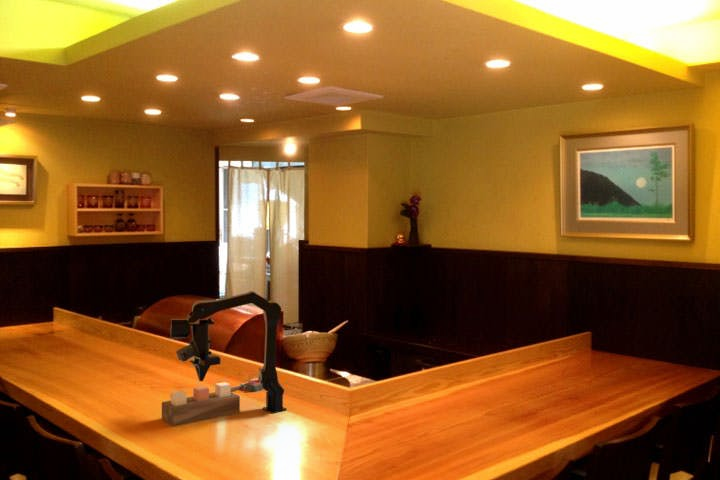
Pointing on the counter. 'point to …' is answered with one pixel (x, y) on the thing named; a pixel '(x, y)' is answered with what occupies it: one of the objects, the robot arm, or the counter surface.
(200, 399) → the plug terracotta
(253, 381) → the walkie-talkie
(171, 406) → the socket board
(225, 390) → the cream plug
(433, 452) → the counter surface
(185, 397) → the cream plug
